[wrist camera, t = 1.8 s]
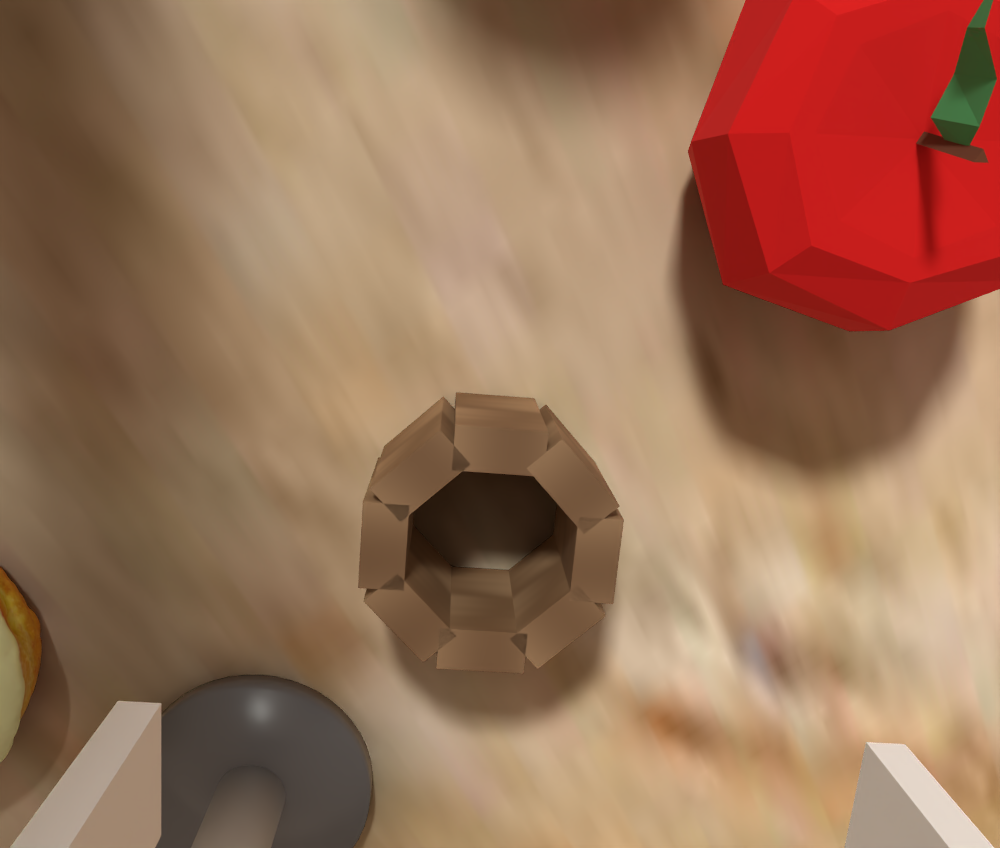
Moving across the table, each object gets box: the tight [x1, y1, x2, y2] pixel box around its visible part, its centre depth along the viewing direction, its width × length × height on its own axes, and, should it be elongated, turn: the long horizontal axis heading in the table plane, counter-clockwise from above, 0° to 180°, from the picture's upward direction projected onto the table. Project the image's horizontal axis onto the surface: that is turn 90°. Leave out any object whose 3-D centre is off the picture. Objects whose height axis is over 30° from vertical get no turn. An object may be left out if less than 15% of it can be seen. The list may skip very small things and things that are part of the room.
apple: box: [688, 0, 1000, 331], centre depth 24 cm, size 11×11×10 cm
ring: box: [358, 393, 624, 674], centre depth 29 cm, size 8×8×5 cm
